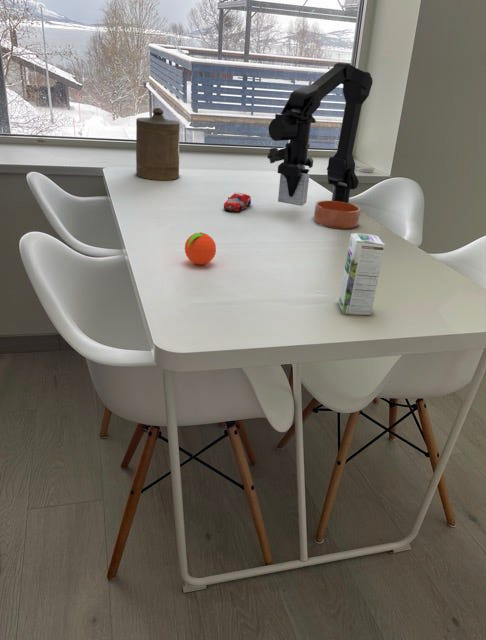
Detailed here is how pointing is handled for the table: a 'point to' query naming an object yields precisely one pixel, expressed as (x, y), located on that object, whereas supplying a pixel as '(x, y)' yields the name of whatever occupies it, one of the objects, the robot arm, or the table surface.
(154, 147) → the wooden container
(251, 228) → the table surface
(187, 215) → the table surface
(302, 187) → the medicine box
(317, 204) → the bowl
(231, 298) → the table surface
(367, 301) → the syrup box
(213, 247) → the clementine
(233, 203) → the race car
